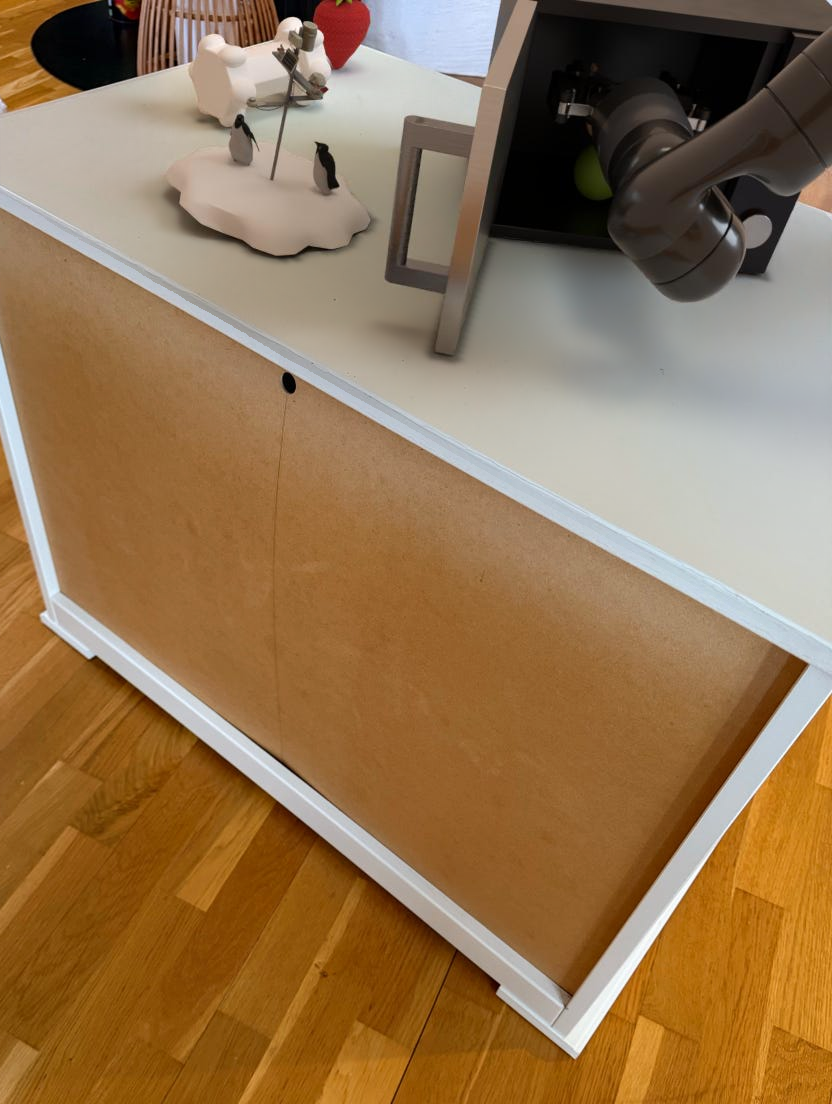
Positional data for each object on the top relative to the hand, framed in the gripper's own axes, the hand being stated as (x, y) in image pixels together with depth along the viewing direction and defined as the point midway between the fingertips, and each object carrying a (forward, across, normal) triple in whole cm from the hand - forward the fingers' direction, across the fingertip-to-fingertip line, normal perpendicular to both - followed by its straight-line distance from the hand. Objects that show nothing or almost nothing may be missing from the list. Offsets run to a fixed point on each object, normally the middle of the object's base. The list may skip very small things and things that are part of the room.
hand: (617, 76), depth 89 cm
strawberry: (+31, +28, +12) cm, 43 cm away
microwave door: (-22, +16, +12) cm, 30 cm away
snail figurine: (-2, 0, +11) cm, 11 cm away
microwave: (-2, -2, +12) cm, 12 cm away
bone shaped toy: (+14, +36, +12) cm, 40 cm away
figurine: (-11, +32, +12) cm, 36 cm away
